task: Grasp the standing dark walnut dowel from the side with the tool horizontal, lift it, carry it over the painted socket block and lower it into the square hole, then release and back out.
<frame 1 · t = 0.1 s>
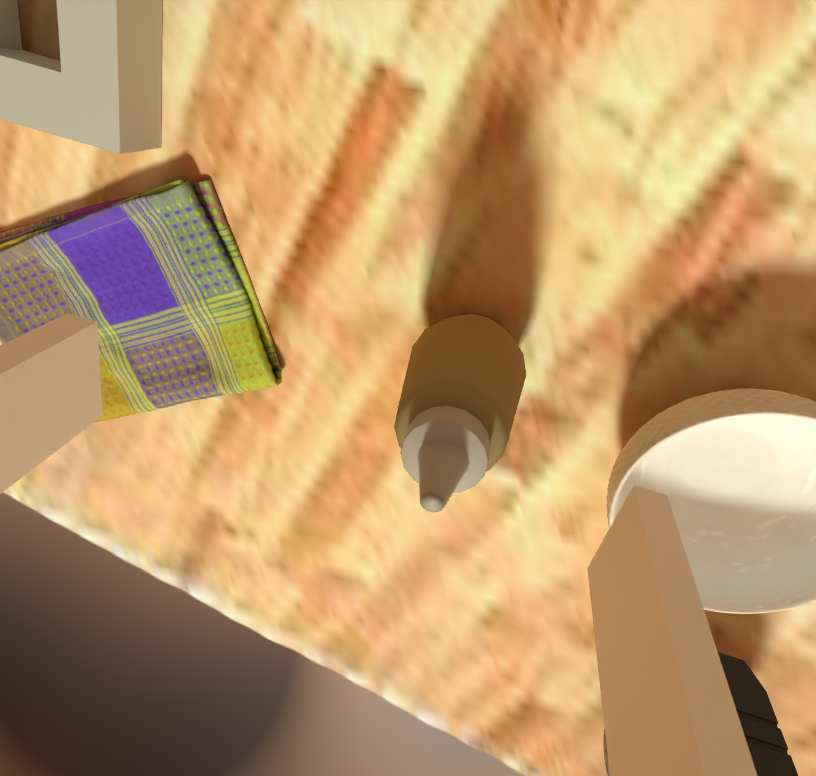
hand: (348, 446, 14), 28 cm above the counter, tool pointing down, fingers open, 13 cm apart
socket block: (62, 5, 37), on the counter
dish towel: (131, 312, 47), on the counter
cereal bowl: (717, 460, 42), on the counter
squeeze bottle: (471, 348, 42), on the counter
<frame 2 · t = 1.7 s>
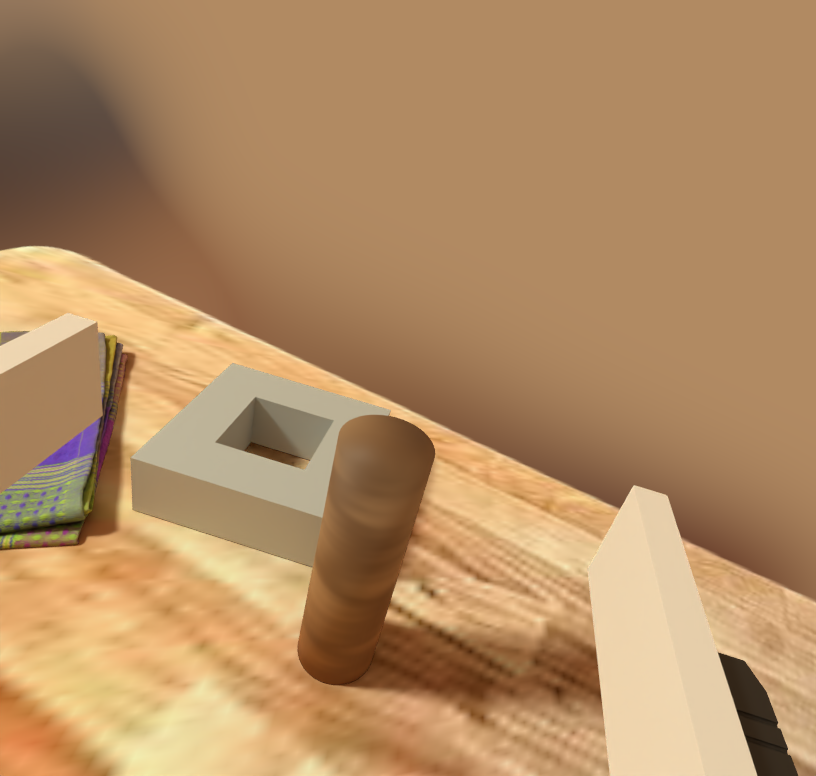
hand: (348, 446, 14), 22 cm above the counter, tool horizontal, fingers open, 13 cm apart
socket block: (272, 477, 44), on the counter
walnut dowel: (336, 647, 33), on the counter
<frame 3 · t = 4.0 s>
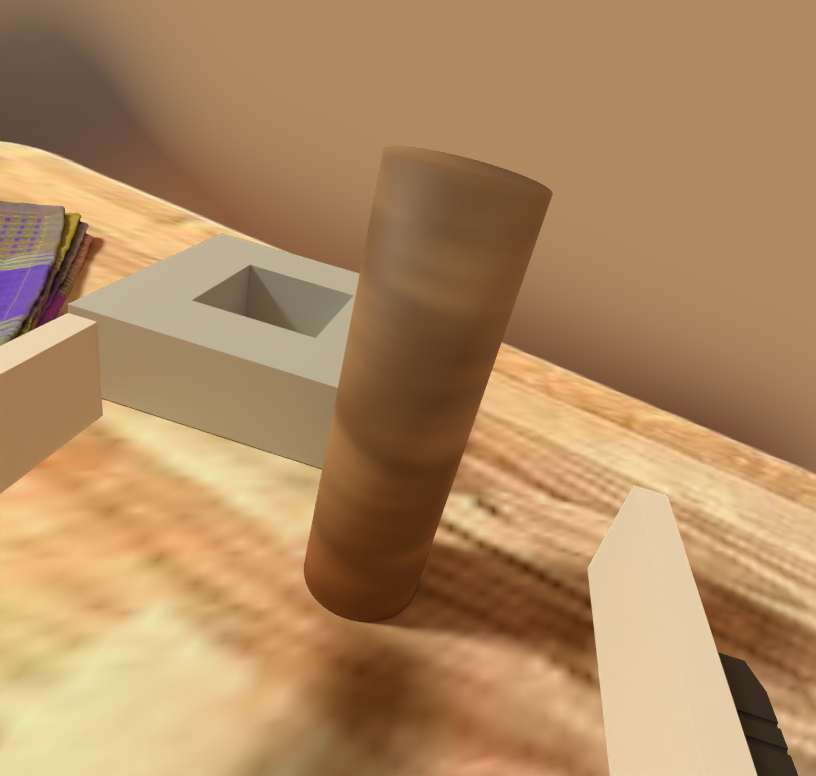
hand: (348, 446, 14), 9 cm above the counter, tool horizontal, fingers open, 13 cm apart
socket block: (271, 369, 33), on the counter
walnut dowel: (361, 571, 22), on the counter
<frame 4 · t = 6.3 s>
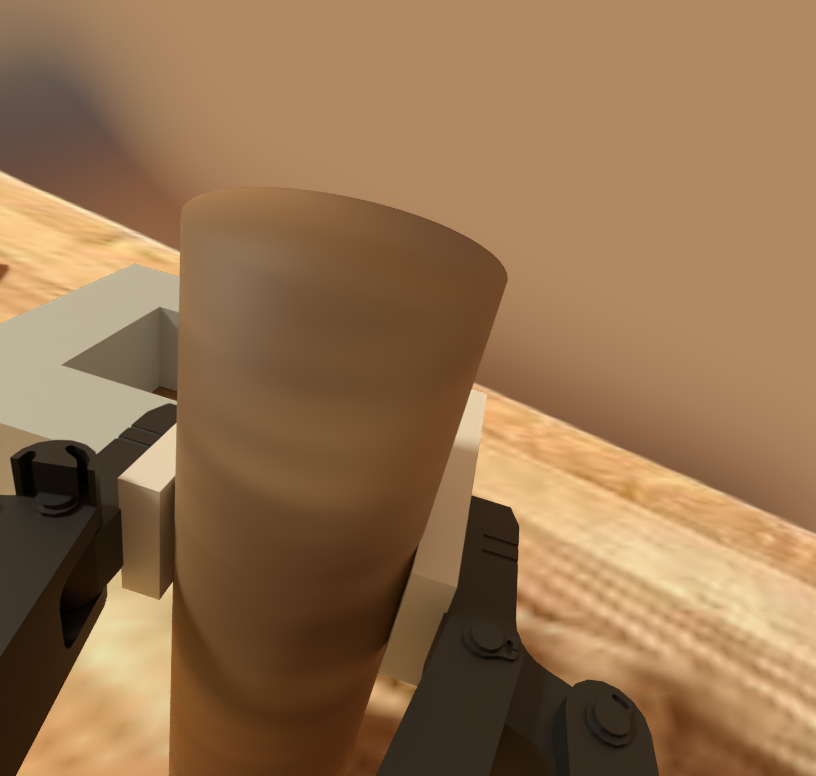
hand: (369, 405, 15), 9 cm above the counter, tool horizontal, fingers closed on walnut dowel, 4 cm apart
socket block: (184, 438, 26), on the counter
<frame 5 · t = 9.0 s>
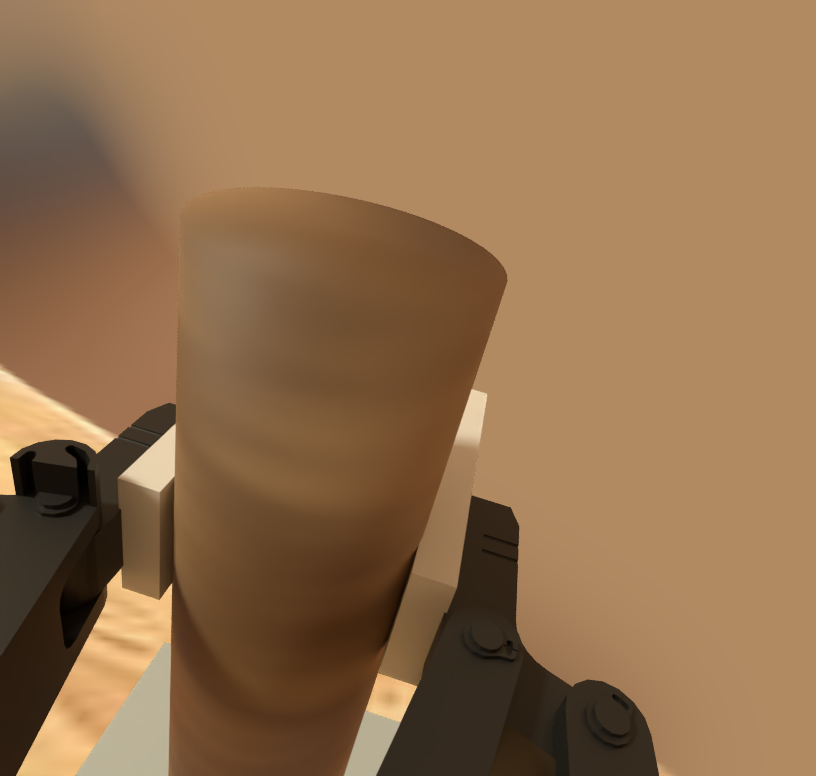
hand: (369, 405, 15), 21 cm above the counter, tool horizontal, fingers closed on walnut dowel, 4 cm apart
when the fingers open (11 cm above the counter, at t = 11.6 s): walnut dowel drops 1 cm, resting in socket block.
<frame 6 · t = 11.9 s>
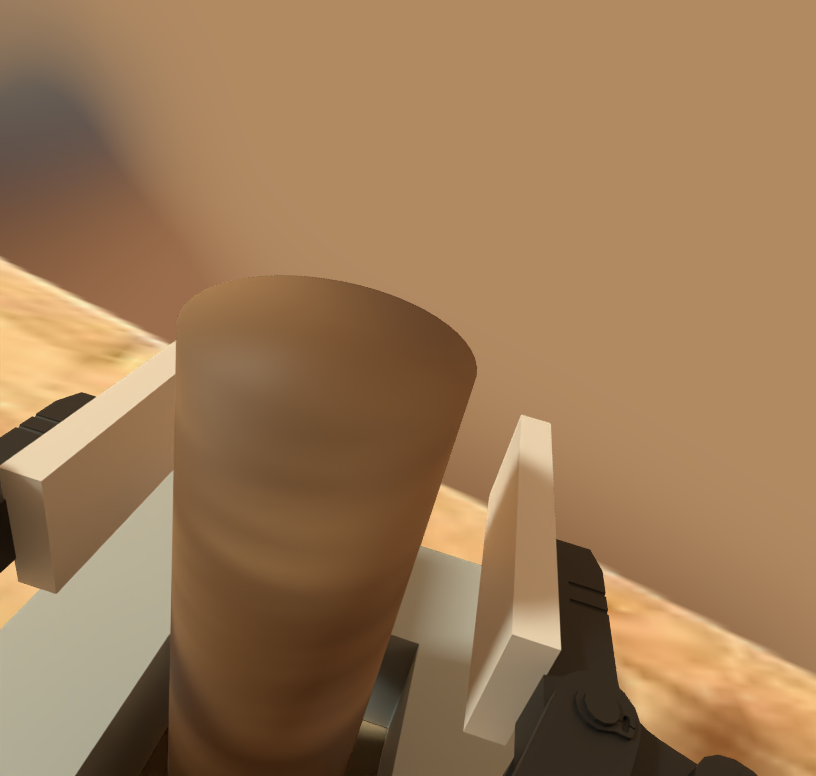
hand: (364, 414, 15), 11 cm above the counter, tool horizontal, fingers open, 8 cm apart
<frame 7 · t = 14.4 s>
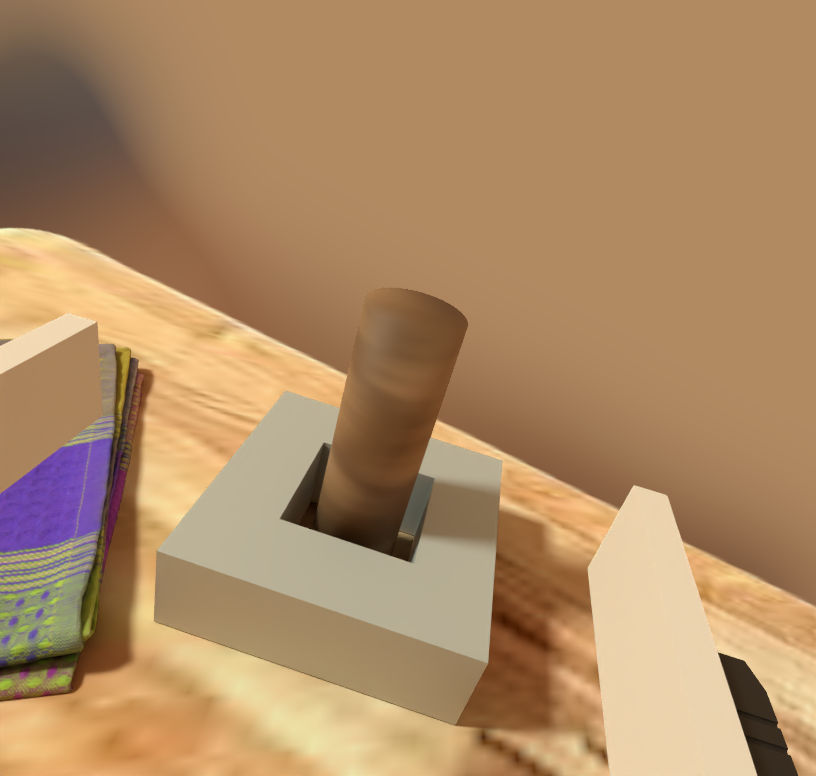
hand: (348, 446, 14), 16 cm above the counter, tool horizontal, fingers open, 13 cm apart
socket block: (347, 557, 31), on the counter
walnut dowel: (347, 558, 31), resting in socket block
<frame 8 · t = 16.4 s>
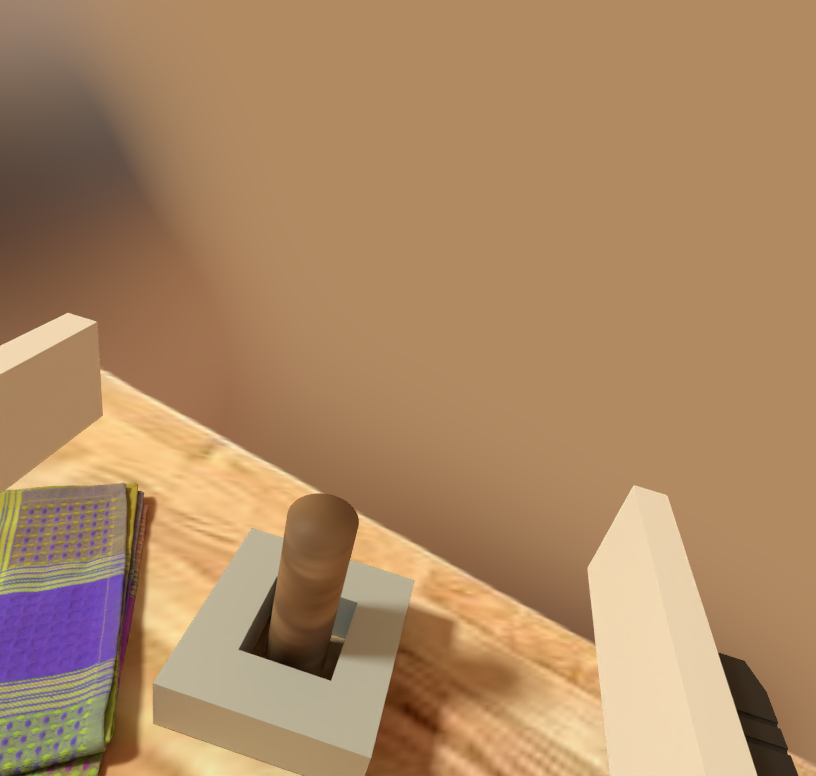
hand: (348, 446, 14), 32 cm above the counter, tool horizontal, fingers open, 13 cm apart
socket block: (294, 662, 42), on the counter
dish towel: (2, 622, 41), on the counter
walnut dowel: (294, 663, 42), resting in socket block
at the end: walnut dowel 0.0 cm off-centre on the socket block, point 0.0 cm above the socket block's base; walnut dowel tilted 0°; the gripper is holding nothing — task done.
